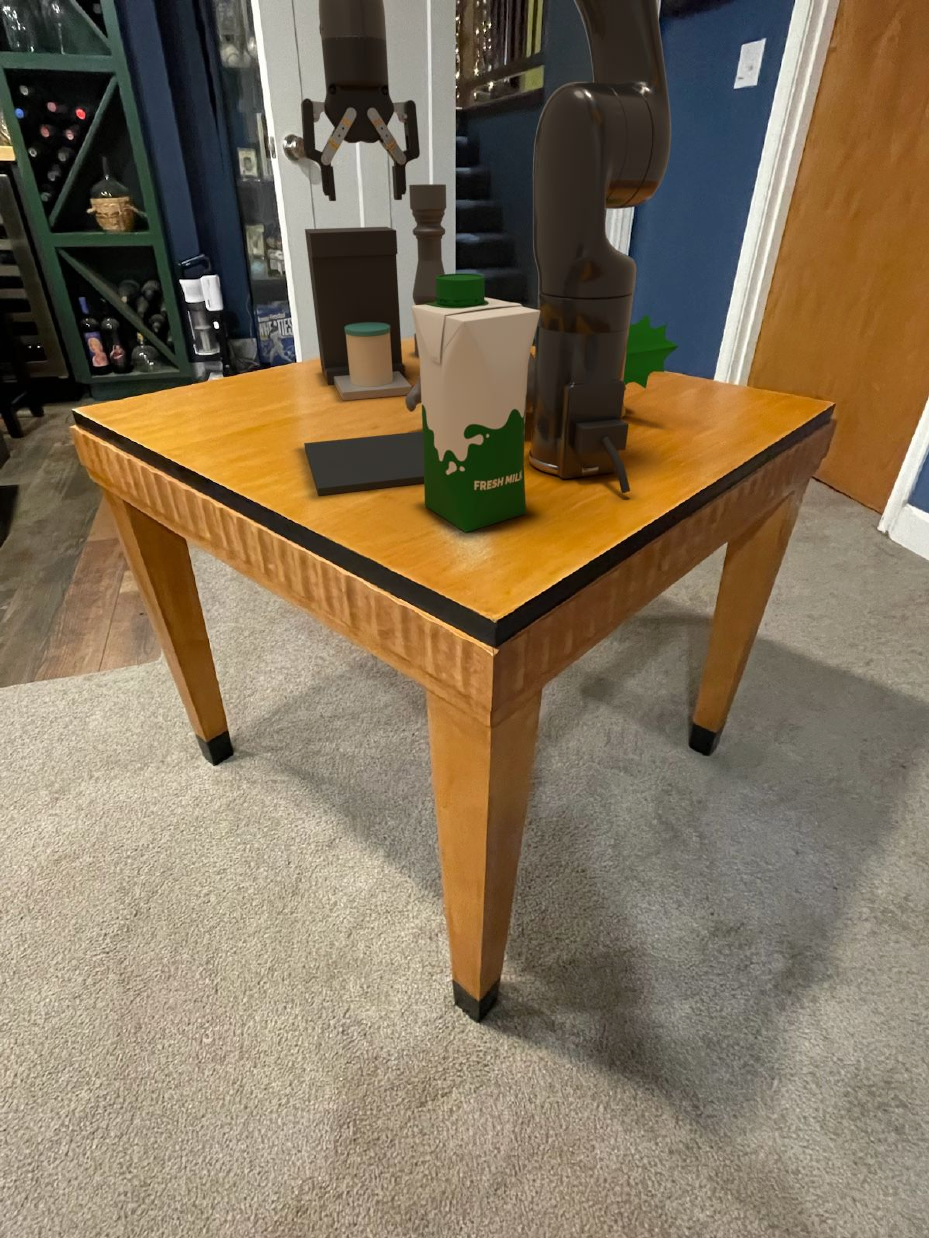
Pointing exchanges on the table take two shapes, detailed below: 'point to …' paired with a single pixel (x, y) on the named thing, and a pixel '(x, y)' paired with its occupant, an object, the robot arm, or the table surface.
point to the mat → (366, 462)
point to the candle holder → (427, 240)
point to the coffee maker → (355, 300)
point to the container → (369, 354)
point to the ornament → (645, 352)
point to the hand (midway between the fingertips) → (365, 200)
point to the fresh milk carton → (473, 401)
